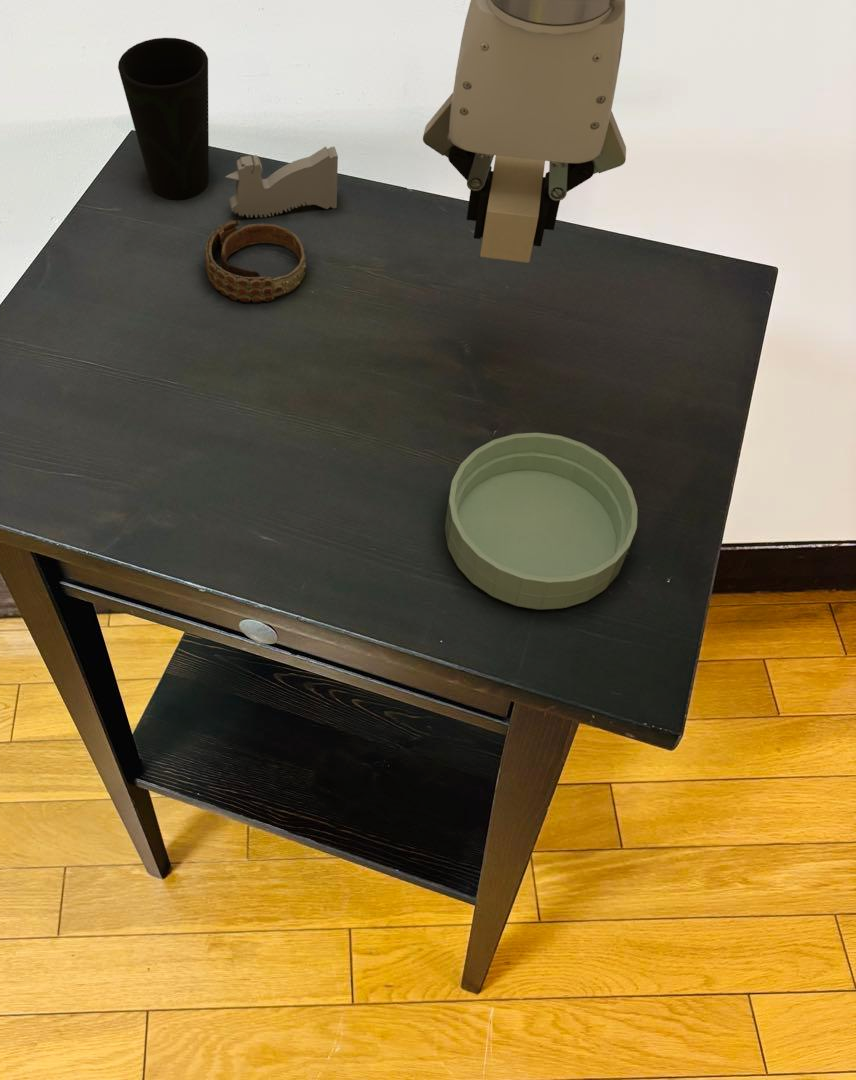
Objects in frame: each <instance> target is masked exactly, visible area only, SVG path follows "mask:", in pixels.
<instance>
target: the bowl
mask: <svg viewBox="0 0 856 1080" xmlns="http://www.w3.org/2000/svg"><path fill="white" fill-rule="evenodd" d="M449 490H450V491H449V496H448V504H447V509H446V515H445V523H444V533H445V539H446V544H447V549H448V551H449V553H450V555H451V557H452V559H453V561H454V563H455V564H456V566H457V569H459V570H460V571H461V573H463V575H464V576H465V577H466V578H467V579H468V581H469V582H471V583H472V584H473V585H475V587H477V588H479V589H480V590H482V591H483V592H485V593H487V594H488V595H489V596H491V597H492V598H495V599H497V600H500V601H501V602H503V603H507V604H510V605H513V606H515V607H519V608H520V607H521V608H526V609H532V610H538V611H539V610H542V611H543V610H556V609H564V608H565V609H566V608H570V607H573V606H577V605H579V604H582V603H586V602H588V601H589V600H591V599H593V598H595V597H596V596H598V595H599V594H600V593H602V592H603V591H605V590H606V589H607V588H608V587H609V586H610V585H611V583H612V582H613V581H614V580H615V579H616V577H618V575H619V573H620V571H621V569H622V567H623V564H624V562H625V559H626V556H627V555H628V552H629V549H630V547H631V544H632V541H633V539H634V537H635V534H636V531H637V530H638V512H639V511H638V505H637V501H636V498H635V495H634V492H633V488H632V487H631V485H630V483H629V481H628V480H627V478H626V477H625V476H624V474H623V473H622V471H621V470H620V469H619V468H618V467H617V466H616V465H615V464H614V463H613V462H611V460H609V458H608V457H606V456H605V455H604V454H603V453H600V452H599V451H597V450H595V449H594V448H592V447H590V446H589V445H587V444H585V443H583V442H580V441H577V440H576V439H575V440H574V439H572V438H569V437H567V436H564V435H558V434H551V433H544V432H525V433H513V434H508V435H506V436H502V437H499V438H495V439H492V440H490V441H489V442H487V443H485V444H483V445H481V446H480V447H478V448H476V449H475V450H474V451H472V452H471V453H470V454H469V455H468V456H467V457H466V458H465V459H464V460H463V461H462V462H461V463H460V465H459V466H458V469H457V470H456V472H455V474H454V476H453V477H452V480H451V483H450V489H449Z"/></svg>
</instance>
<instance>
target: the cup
mask: <svg viewBox="0 0 856 1080" xmlns="http://www.w3.org/2000/svg"><path fill="white" fill-rule="evenodd" d="M117 70H118V73H119V76H120V79H121V84H122V88H123V91H124V95H125V98H126V103H127V105H128V109H129V113H130V116H131V117H130V118H131V120H132V123H133V124H132V125H133V128H134V132H135V135H136V138H137V143H138V144H139V149H140V153H141V156H142V161H143V164H144V167H145V171H146V174H147V179H148V182H149V186H150V189H151V190H152V192H153V193H154V194H155V195H157V196H158V197H161V198H163V199H166V200H171V201H181V200H182V201H183V200H188V199H192V198H194V197H197V196H198V195H201V194H202V193H203V192H204V191H205V190H206V189H207V187H208V186H209V182H210V181H209V180H210V177H209V176H210V162H209V160H210V155H209V154H210V151H209V148H210V147H209V145H210V144H209V143H210V142H209V141H210V140H209V137H210V136H209V135H210V133H209V57H208V55H207V52H206V51H204V49H203V48H202V47H201V46H199V45H198V44H197V43H194V42H192V41H189V40H186V39H184V38H176V37H158V38H152V39H147V40H144V41H141V42H138V43H136V44H135V45H133V46H131V47H129V48H128V49H127V50H125V52H124V53H122V55H121V57H120V58H119V60H118V64H117Z"/></svg>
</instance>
